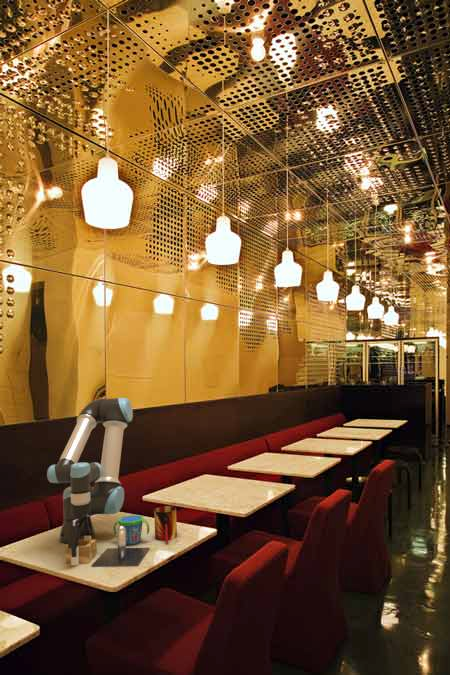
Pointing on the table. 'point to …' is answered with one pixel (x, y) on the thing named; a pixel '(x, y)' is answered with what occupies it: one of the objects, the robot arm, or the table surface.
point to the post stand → (121, 553)
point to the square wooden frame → (84, 551)
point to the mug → (165, 523)
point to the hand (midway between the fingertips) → (81, 558)
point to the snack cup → (132, 528)
